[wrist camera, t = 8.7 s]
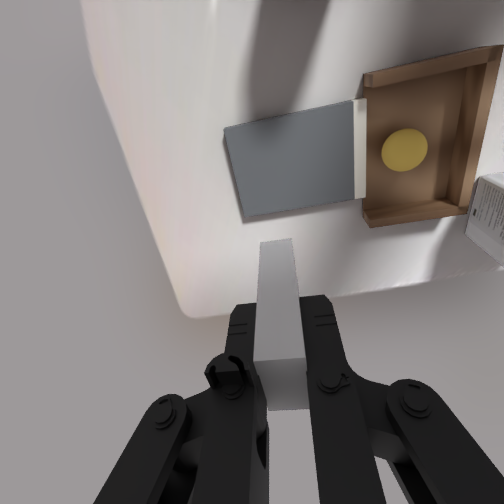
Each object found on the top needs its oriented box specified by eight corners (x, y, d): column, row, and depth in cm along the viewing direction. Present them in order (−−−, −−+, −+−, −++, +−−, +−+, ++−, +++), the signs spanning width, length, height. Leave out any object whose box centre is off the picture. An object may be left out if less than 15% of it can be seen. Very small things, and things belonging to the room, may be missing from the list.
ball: (376, 130, 29) (390, 138, 25) (417, 120, 28) (438, 128, 25) (375, 168, 31) (389, 180, 28) (414, 160, 30) (433, 172, 27)
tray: (363, 73, 27) (373, 74, 24) (480, 46, 25) (504, 44, 22) (362, 216, 34) (369, 228, 32) (451, 202, 33) (466, 213, 30)
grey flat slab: (225, 127, 30) (223, 129, 29) (363, 97, 28) (366, 98, 27) (245, 213, 35) (244, 217, 34) (362, 193, 33) (365, 197, 32)
